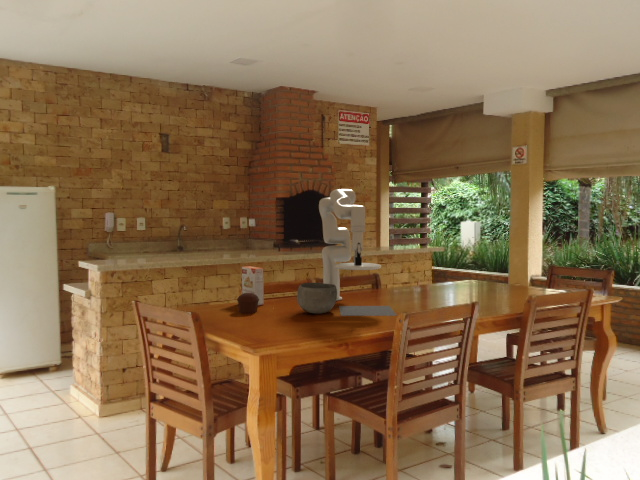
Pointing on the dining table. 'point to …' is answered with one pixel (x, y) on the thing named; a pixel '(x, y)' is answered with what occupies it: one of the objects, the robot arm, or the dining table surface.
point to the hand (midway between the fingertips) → (357, 264)
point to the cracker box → (253, 282)
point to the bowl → (317, 297)
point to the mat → (366, 311)
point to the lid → (357, 266)
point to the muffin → (248, 303)
